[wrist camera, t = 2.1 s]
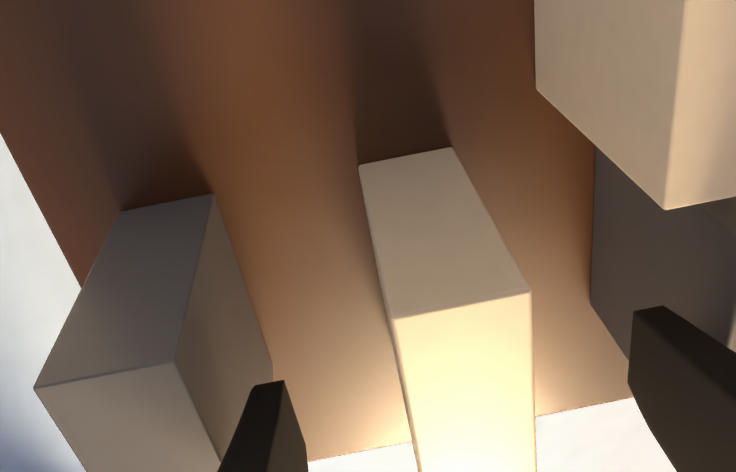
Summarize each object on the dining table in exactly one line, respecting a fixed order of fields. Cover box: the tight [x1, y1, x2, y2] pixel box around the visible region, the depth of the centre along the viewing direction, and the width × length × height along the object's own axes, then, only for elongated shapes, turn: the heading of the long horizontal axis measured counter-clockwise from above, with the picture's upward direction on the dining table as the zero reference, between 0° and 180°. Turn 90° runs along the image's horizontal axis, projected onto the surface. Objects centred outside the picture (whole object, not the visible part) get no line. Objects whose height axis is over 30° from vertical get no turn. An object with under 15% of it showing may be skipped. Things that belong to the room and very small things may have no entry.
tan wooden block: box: [358, 147, 537, 472], centre depth 14 cm, size 2×6×6 cm, turn 9°
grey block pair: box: [33, 146, 736, 472], centre depth 14 cm, size 14×6×6 cm, turn 99°
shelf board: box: [0, 0, 634, 462], centre depth 16 cm, size 18×19×1 cm
